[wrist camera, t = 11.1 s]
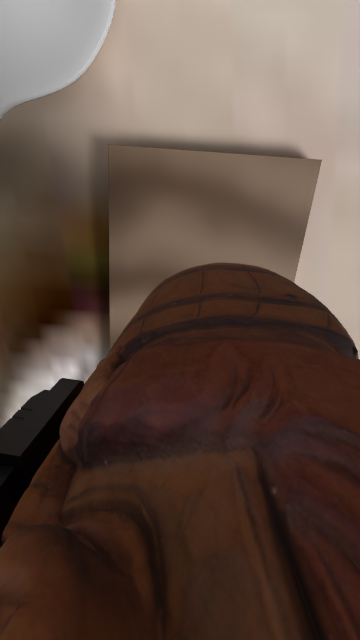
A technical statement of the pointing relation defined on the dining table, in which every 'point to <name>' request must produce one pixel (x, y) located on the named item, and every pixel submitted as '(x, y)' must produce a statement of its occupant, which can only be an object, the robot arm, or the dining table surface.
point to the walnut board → (200, 217)
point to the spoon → (47, 45)
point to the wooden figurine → (200, 477)
